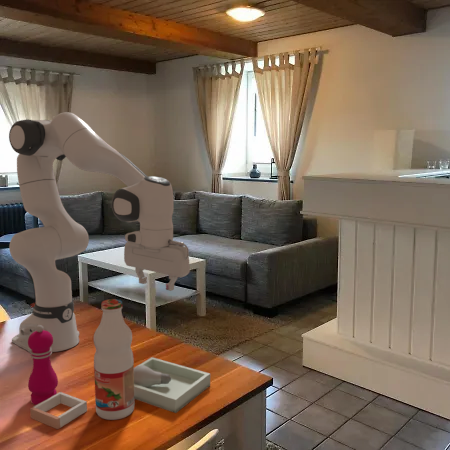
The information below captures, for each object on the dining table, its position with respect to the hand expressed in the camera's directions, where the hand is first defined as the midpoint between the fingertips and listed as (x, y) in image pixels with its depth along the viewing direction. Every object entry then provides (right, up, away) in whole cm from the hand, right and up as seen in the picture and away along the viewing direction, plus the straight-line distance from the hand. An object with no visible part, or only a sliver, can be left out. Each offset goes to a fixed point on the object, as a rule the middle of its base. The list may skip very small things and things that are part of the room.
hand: (156, 286), depth 136 cm
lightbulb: (+5, -25, -3) cm, 25 cm away
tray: (+2, -27, -3) cm, 27 cm away
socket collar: (-21, -29, -15) cm, 39 cm away
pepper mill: (-28, -28, -8) cm, 40 cm away
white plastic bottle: (-8, -29, -13) cm, 33 cm away
